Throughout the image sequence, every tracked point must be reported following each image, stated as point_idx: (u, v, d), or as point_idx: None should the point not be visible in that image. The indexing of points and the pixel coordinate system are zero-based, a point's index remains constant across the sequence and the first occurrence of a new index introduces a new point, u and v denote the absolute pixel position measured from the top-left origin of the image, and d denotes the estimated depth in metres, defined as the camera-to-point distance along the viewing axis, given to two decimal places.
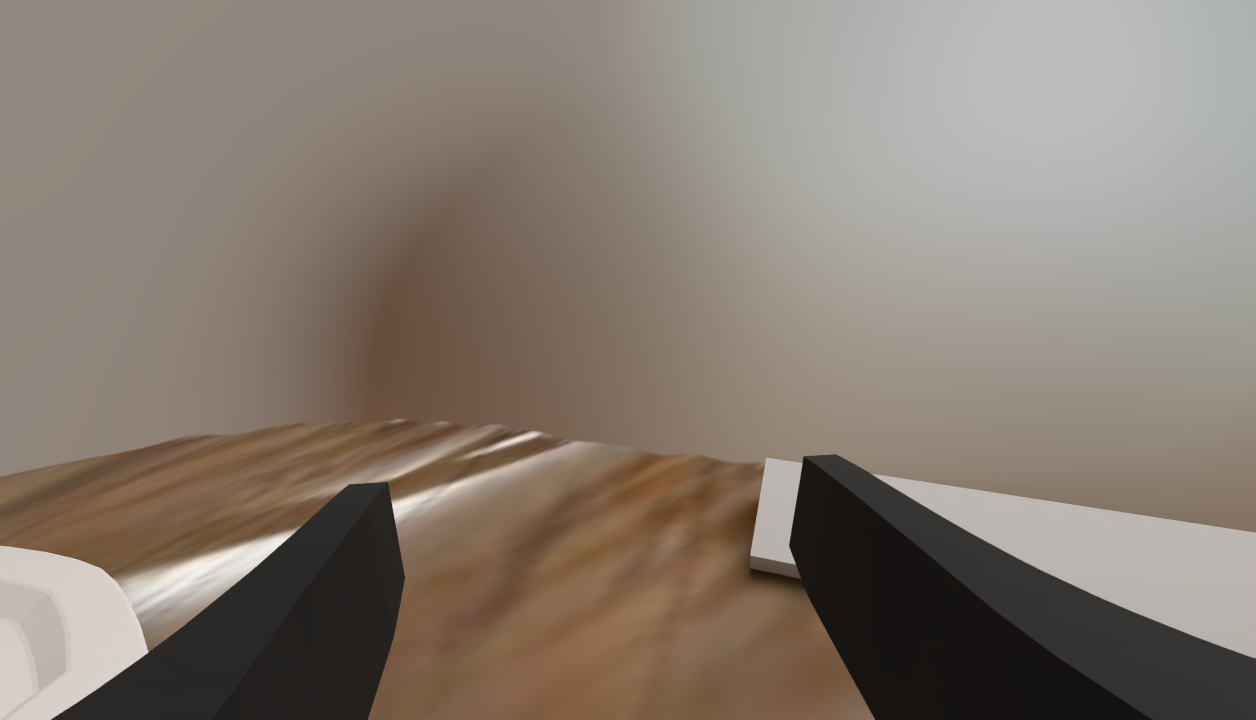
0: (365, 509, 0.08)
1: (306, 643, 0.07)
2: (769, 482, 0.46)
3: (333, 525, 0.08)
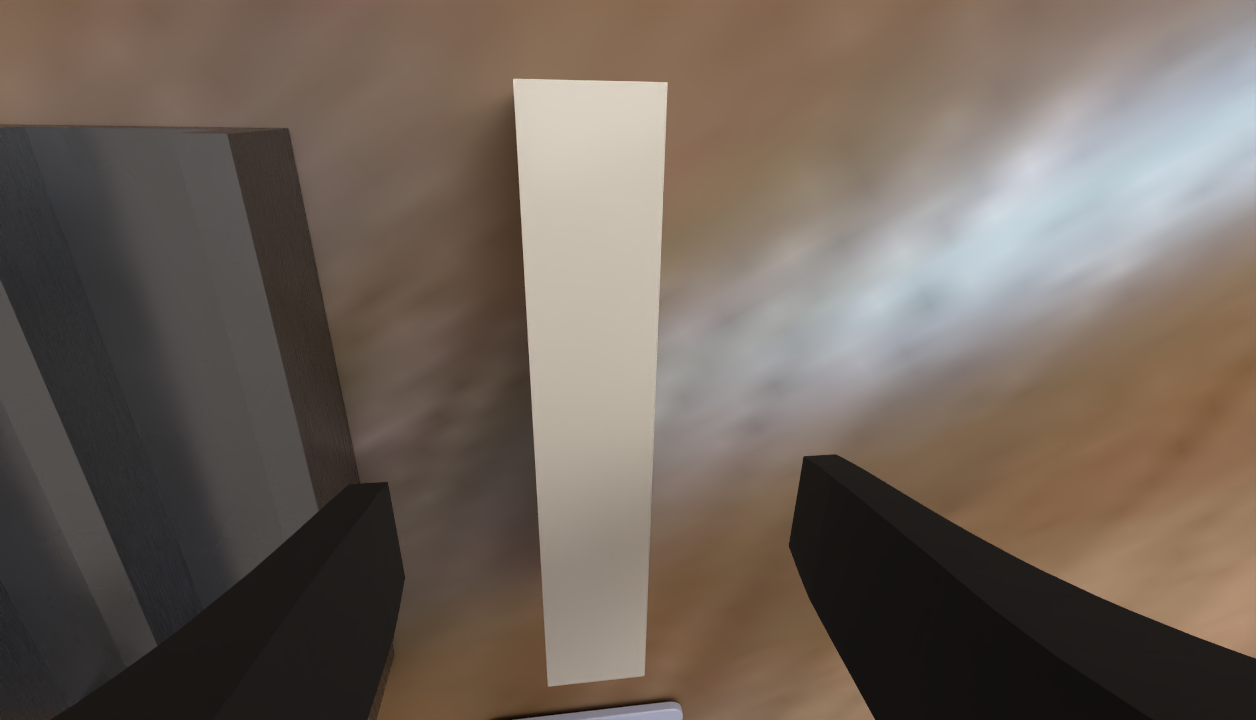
0: (365, 509, 0.08)
1: (306, 643, 0.07)
2: None
3: (333, 525, 0.08)
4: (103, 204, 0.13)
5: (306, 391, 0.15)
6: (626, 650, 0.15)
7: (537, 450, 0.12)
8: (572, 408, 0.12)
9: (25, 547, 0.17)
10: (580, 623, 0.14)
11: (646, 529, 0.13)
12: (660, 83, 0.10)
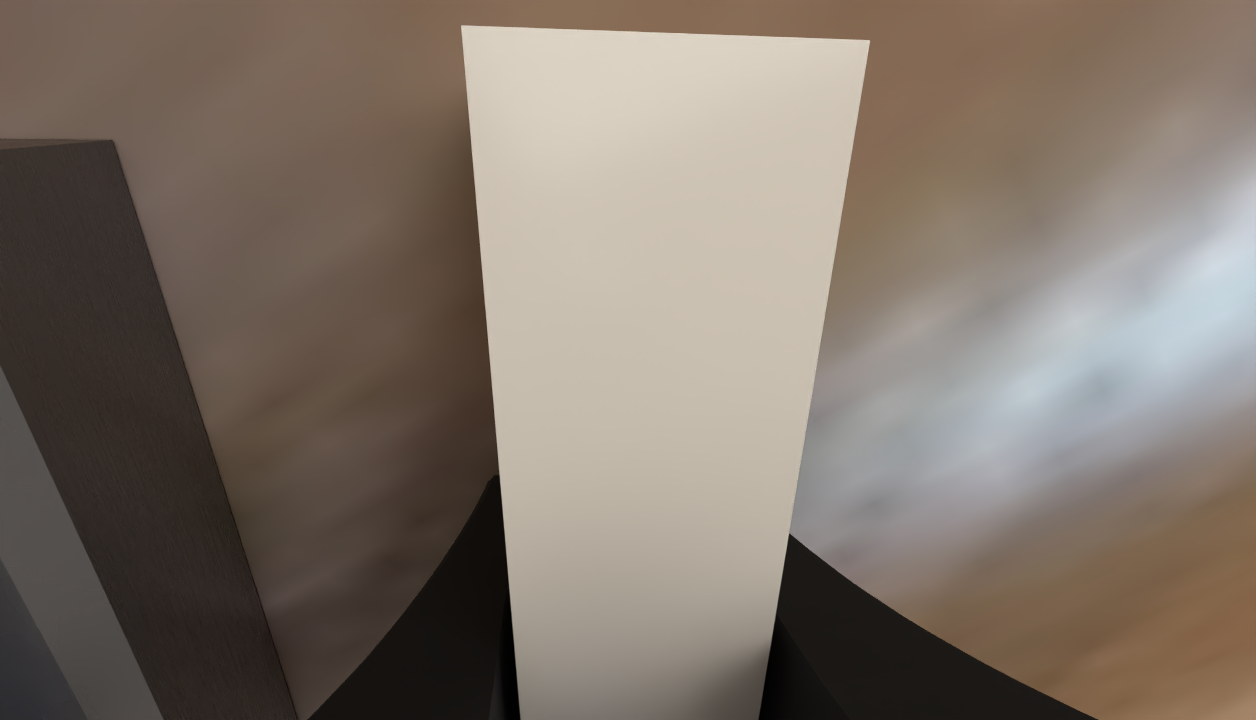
0: None
1: (511, 623, 0.07)
2: None
3: None
4: None
5: (153, 572, 0.09)
6: None
7: None
8: (602, 709, 0.06)
9: None
10: None
11: None
12: (852, 43, 0.04)
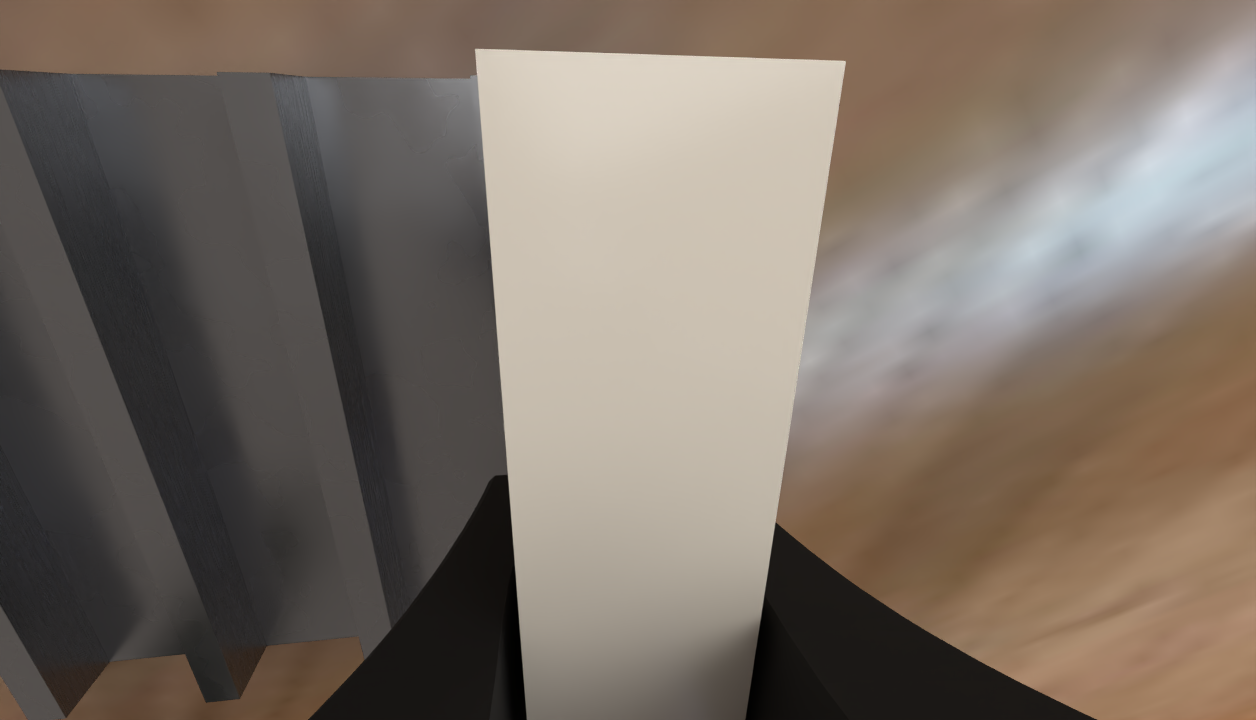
0: None
1: (511, 624, 0.07)
2: None
3: (505, 513, 0.08)
4: (364, 151, 0.14)
5: None
6: None
7: None
8: (600, 683, 0.06)
9: (248, 483, 0.18)
10: None
11: None
12: (830, 63, 0.04)
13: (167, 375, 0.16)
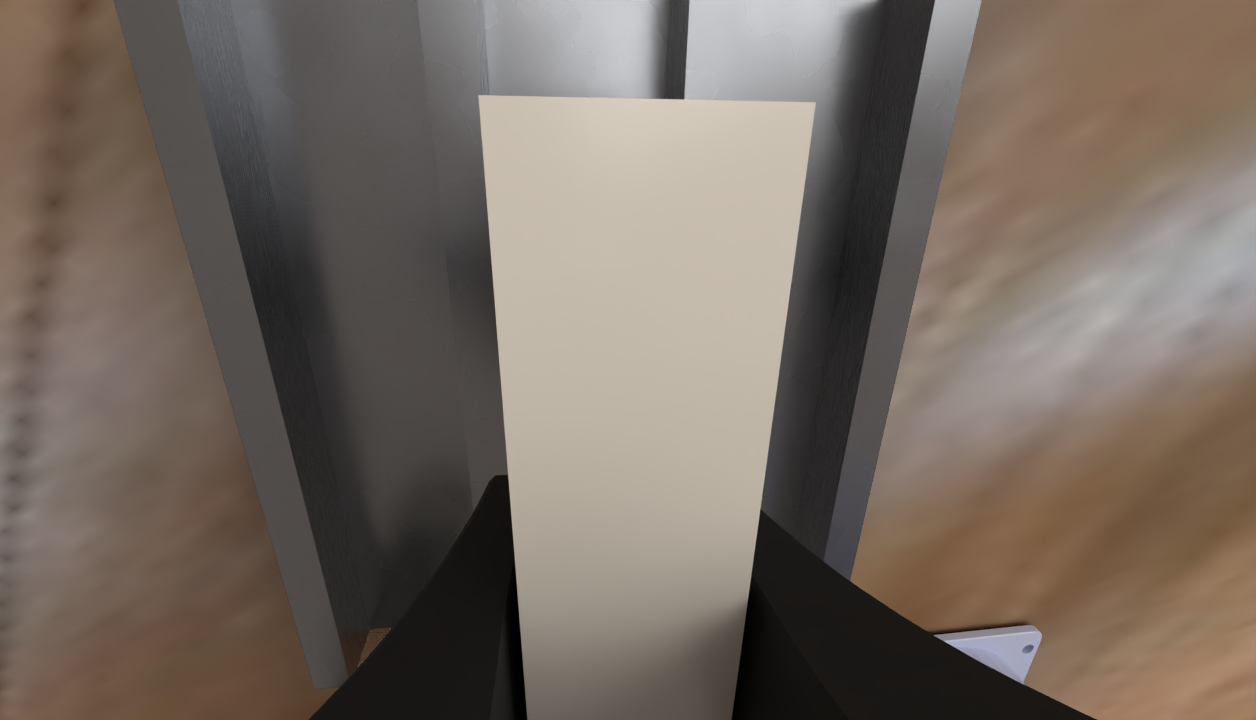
0: None
1: (512, 624, 0.07)
2: None
3: (505, 513, 0.08)
4: (752, 73, 0.13)
5: None
6: None
7: None
8: (597, 674, 0.07)
9: None
10: None
11: None
12: (801, 104, 0.04)
13: None
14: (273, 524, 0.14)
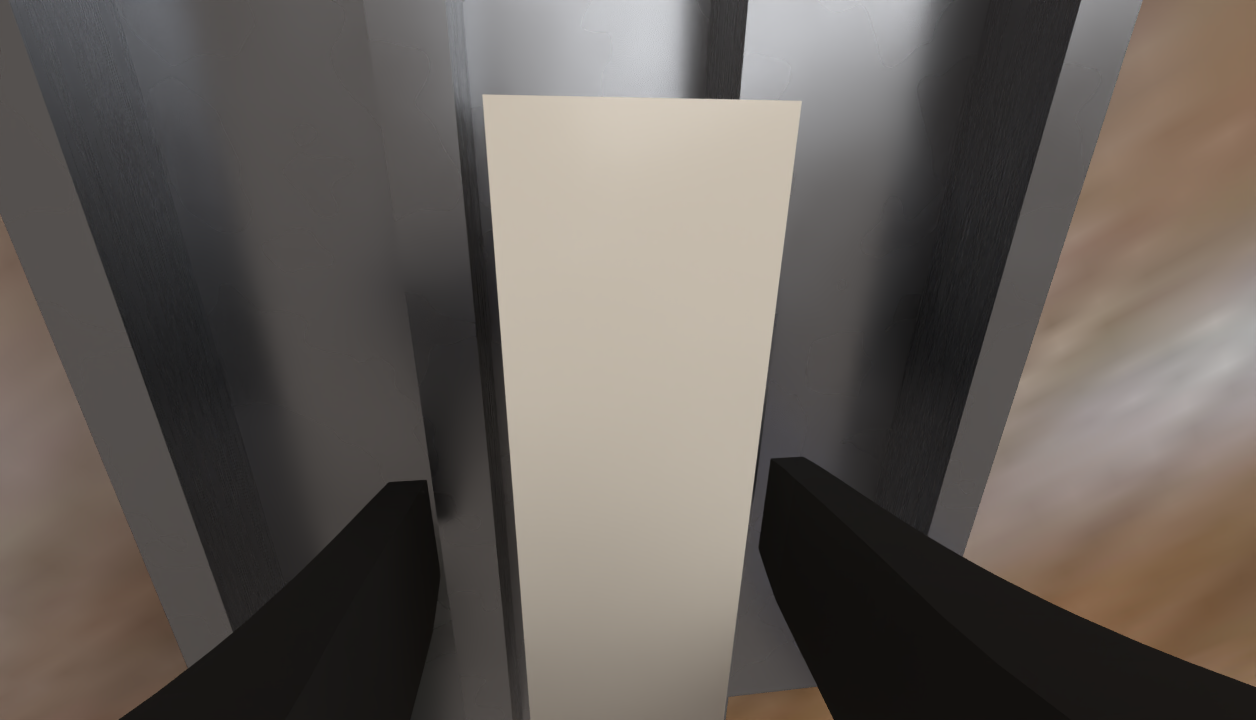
0: (409, 506, 0.08)
1: (362, 638, 0.07)
2: None
3: (380, 522, 0.08)
4: (820, 61, 0.10)
5: None
6: None
7: (535, 714, 0.07)
8: (595, 653, 0.07)
9: None
10: None
11: None
12: (788, 103, 0.05)
13: (493, 377, 0.11)
14: (190, 650, 0.11)
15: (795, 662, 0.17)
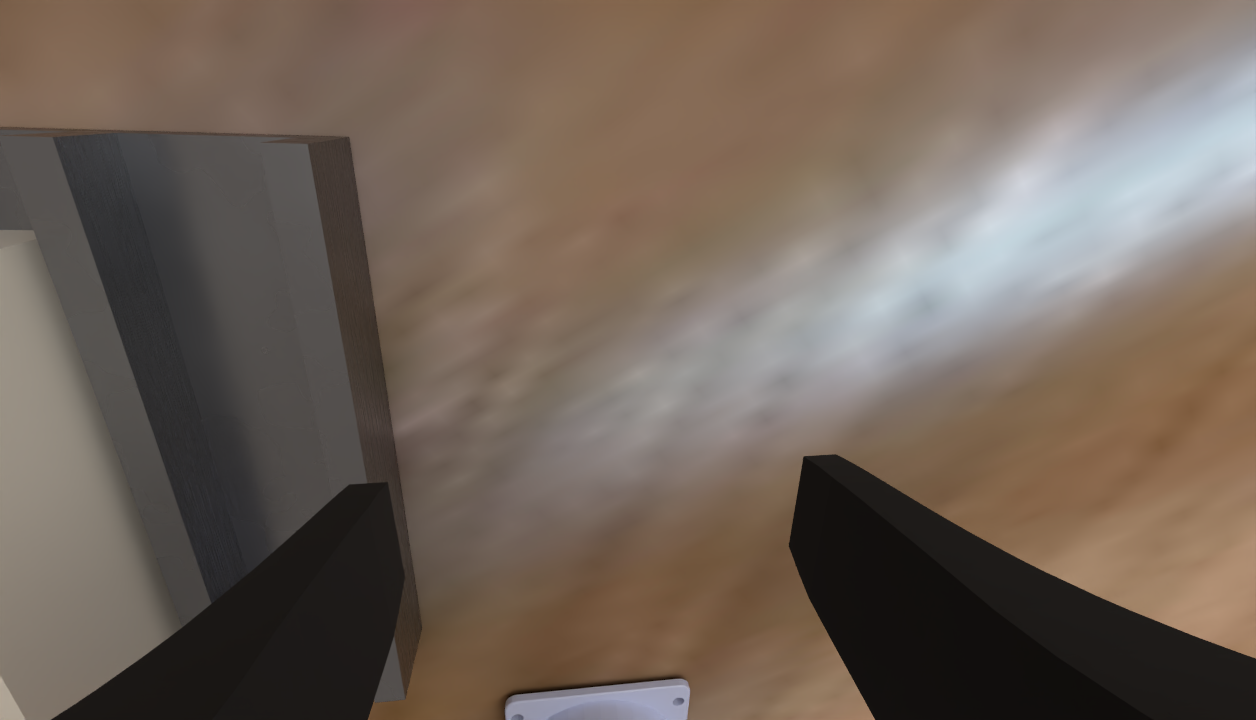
0: (365, 509, 0.08)
1: (306, 643, 0.07)
2: None
3: (333, 525, 0.08)
4: (182, 203, 0.15)
5: (360, 377, 0.16)
6: None
7: None
8: None
9: None
10: None
11: (10, 700, 0.13)
12: None
13: None
14: None
15: None
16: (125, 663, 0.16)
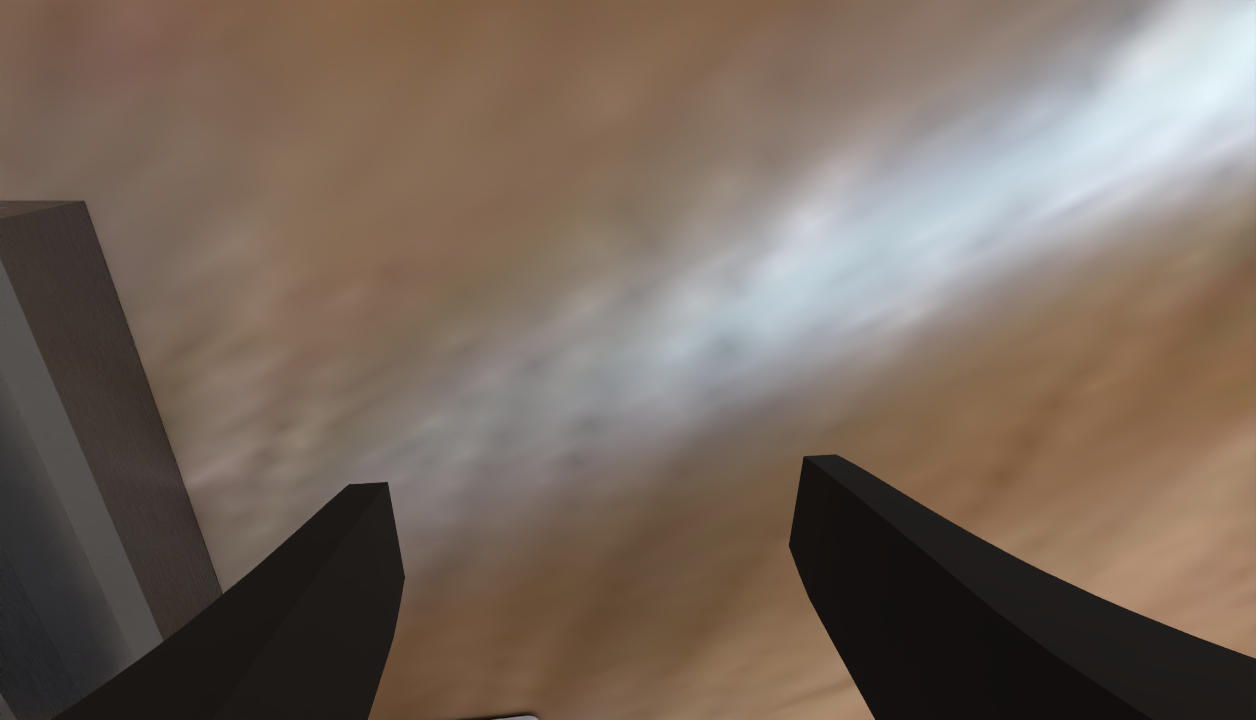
0: (365, 509, 0.08)
1: (306, 643, 0.07)
2: None
3: (333, 525, 0.08)
4: None
5: (107, 440, 0.16)
6: None
7: None
8: None
9: None
10: None
11: None
12: None
13: None
14: None
15: None
16: None
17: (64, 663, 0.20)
